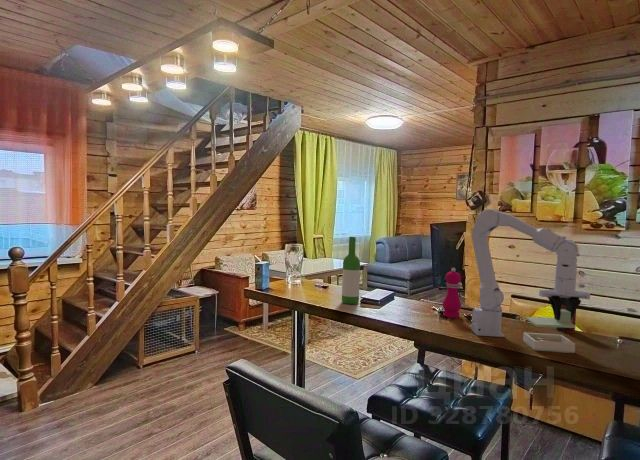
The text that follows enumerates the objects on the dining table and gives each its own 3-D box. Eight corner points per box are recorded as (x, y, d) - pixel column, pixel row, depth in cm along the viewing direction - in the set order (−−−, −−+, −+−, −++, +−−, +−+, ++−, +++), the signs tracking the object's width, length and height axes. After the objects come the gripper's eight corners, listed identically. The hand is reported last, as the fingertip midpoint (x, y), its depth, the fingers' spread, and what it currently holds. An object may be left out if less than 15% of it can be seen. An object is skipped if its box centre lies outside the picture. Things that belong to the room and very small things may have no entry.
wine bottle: (338, 302, 183) (340, 236, 182) (350, 300, 188) (353, 236, 186) (349, 305, 177) (351, 237, 175) (362, 303, 182) (364, 237, 180)
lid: (536, 326, 126) (536, 313, 126) (525, 318, 135) (525, 306, 135) (575, 327, 125) (575, 314, 125) (562, 320, 133) (562, 307, 133)
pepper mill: (461, 319, 161) (464, 269, 159) (442, 317, 162) (445, 268, 161) (459, 314, 168) (461, 267, 167) (441, 313, 169) (443, 266, 168)
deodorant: (566, 333, 146) (568, 292, 145) (552, 328, 152) (554, 289, 151) (578, 332, 148) (581, 292, 147) (564, 327, 153) (567, 288, 152)
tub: (534, 350, 127) (534, 341, 126) (523, 341, 136) (523, 332, 135) (574, 353, 125) (575, 343, 125) (560, 343, 134) (561, 334, 134)
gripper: (547, 278, 125) (544, 321, 126) (596, 281, 124) (593, 324, 125) (537, 275, 132) (534, 315, 133) (584, 277, 131) (581, 318, 132)
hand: (562, 319), depth 129 cm, fingers closed on lid, 3 cm apart
